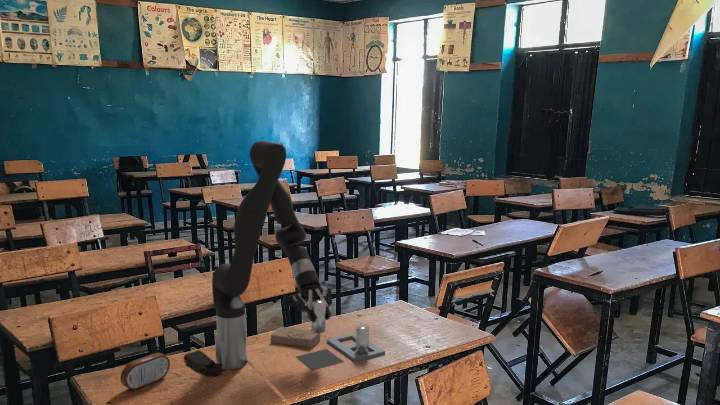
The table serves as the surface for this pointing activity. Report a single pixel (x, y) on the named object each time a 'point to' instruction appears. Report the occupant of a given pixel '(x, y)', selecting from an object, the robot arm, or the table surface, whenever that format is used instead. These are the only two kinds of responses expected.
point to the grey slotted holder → (354, 348)
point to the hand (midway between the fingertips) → (321, 319)
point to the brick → (295, 337)
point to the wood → (202, 364)
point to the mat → (319, 359)
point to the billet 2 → (362, 339)
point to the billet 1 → (319, 316)
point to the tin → (145, 371)
